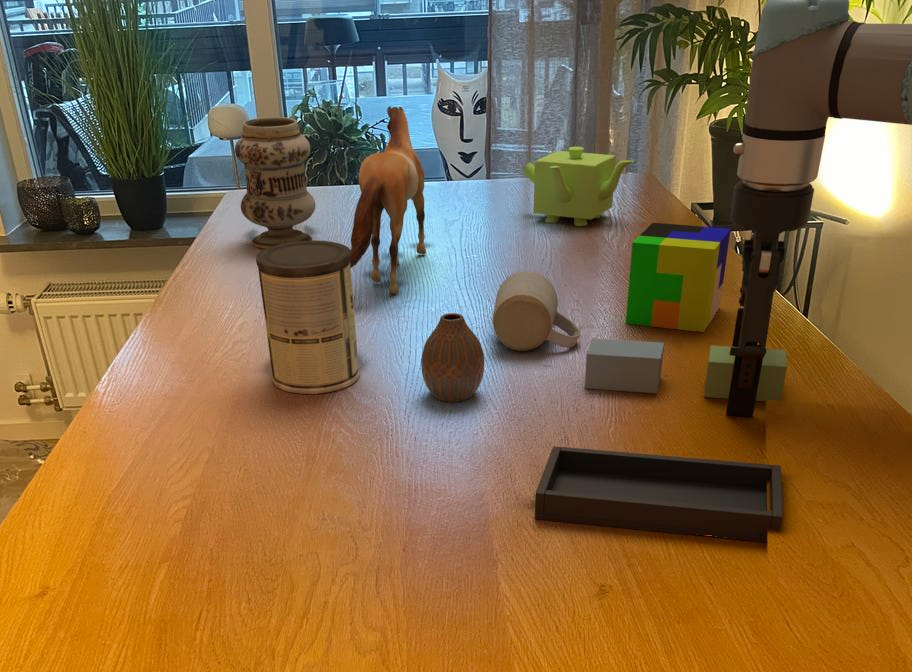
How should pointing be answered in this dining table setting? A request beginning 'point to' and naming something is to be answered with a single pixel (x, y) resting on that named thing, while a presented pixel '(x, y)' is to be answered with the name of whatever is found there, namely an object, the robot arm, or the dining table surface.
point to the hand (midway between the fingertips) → (740, 389)
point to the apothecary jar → (275, 179)
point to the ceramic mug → (530, 313)
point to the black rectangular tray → (660, 493)
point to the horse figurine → (388, 196)
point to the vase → (452, 360)
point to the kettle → (574, 184)
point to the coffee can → (309, 315)
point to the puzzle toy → (677, 276)
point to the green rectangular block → (723, 368)
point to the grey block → (624, 365)
